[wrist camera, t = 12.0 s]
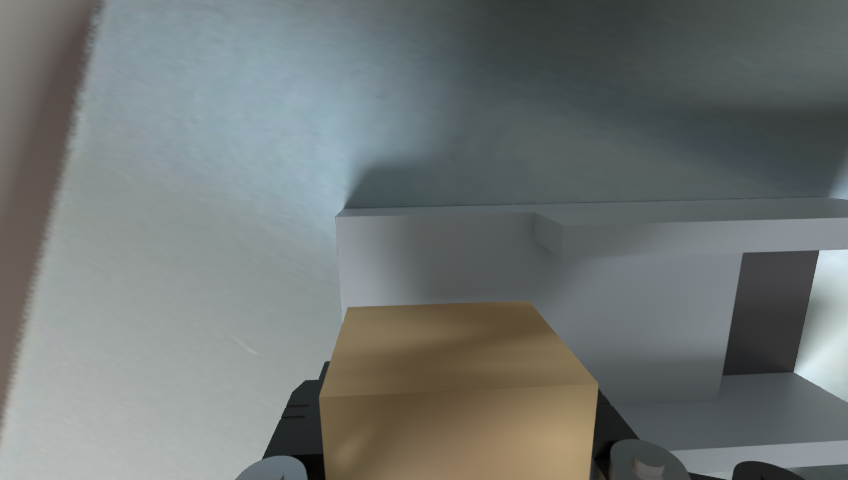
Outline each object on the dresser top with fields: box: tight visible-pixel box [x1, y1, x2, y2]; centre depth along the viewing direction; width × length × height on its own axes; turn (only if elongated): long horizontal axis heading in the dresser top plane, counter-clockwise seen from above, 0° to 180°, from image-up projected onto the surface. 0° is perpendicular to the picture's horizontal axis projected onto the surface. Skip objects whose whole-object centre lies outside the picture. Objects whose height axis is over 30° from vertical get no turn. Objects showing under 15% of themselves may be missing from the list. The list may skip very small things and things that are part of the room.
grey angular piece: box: [335, 197, 848, 474], centre depth 15 cm, size 20×9×4 cm, turn 91°
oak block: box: [319, 301, 599, 480], centre depth 10 cm, size 5×5×4 cm
